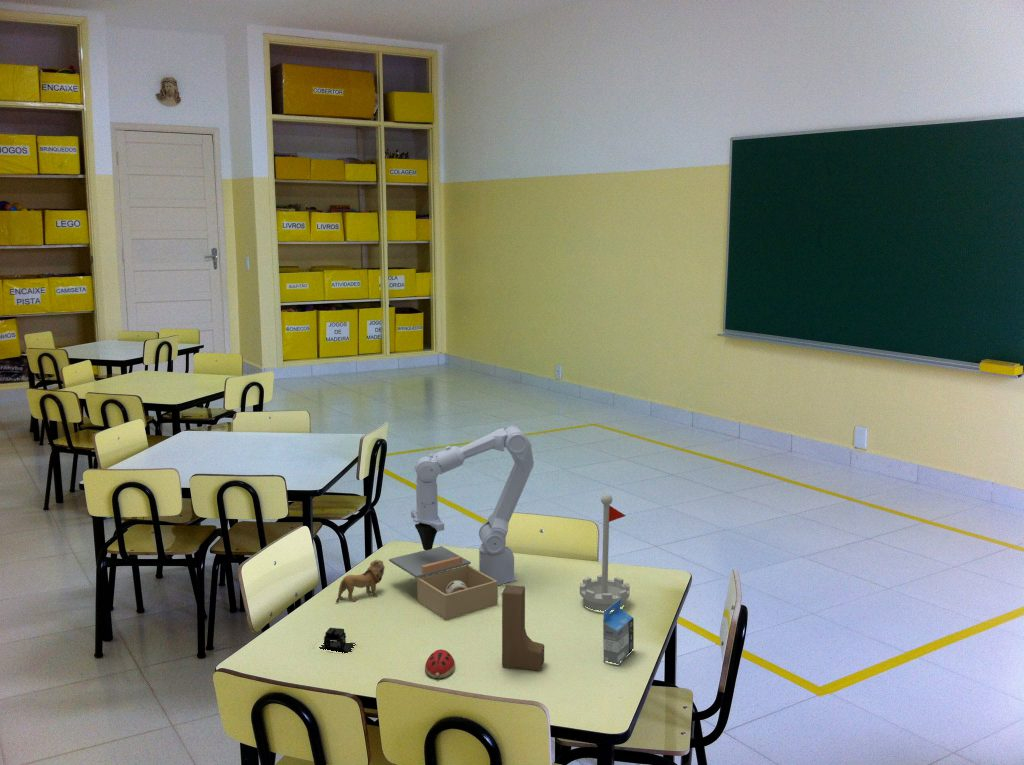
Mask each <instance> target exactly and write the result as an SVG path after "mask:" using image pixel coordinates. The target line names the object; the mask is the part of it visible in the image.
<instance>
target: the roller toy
mask: <svg viewBox="0 0 1024 765" xmlns="http://www.w3.org/2000/svg"><path fill="white" fill-rule="evenodd" d="M464 589H468V588H467V586H466V585H465V584H464V583H463V582H462V581H458V580H457V581H453V582H451V583H450V584H449V585H448V586H447V588H446V594H450V593H453V592H457V591H461V590H464Z"/></svg>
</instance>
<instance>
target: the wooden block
mask: <svg viewBox="0 0 1024 765" xmlns="http://www.w3.org/2000/svg"><path fill="white" fill-rule="evenodd" d="M544 663H545V645H544V643H540V642H536V641H533V640H532V639H531V638H530V637H529V636H528V635H527V631H526V587H525V586H524V585H511V584H506V585H505V586H504V588H503V590H502V593H501V665H502V668H511V669H518V670H519V669H520V670H527V669H528V671H537V670H540V671H542V668H543V666H544Z"/></svg>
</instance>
